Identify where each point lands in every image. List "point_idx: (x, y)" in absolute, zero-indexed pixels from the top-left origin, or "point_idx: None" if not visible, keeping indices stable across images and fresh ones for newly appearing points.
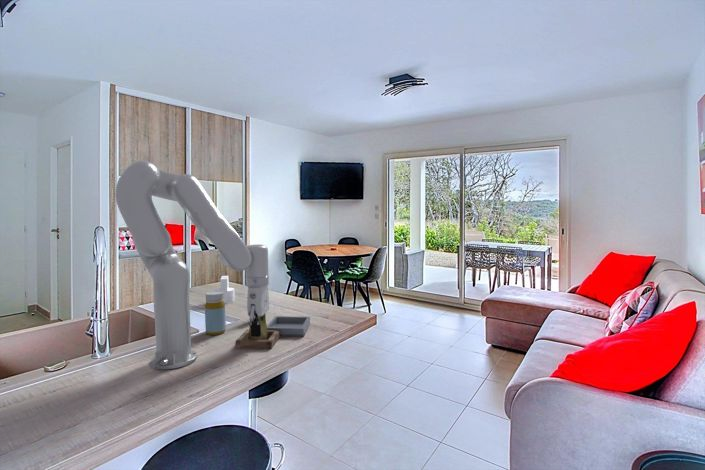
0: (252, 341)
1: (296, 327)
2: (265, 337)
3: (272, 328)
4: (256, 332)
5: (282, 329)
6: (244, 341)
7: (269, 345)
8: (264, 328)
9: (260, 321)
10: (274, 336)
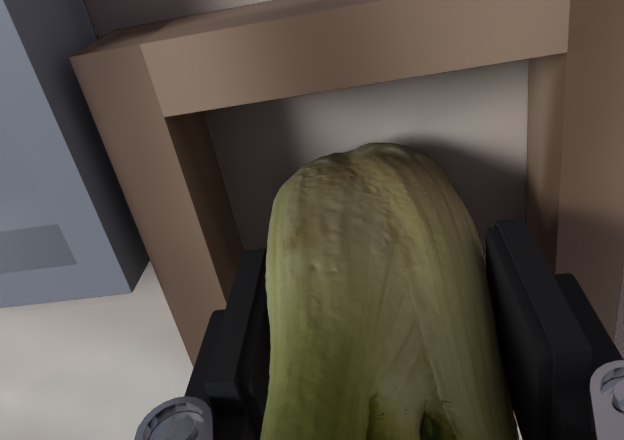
0: (622, 250)
1: None
2: (387, 160)
3: (91, 192)
4: (577, 298)
5: (26, 17)
6: (612, 336)
7: None
8: (371, 255)
9: (410, 414)
10: (395, 9)
